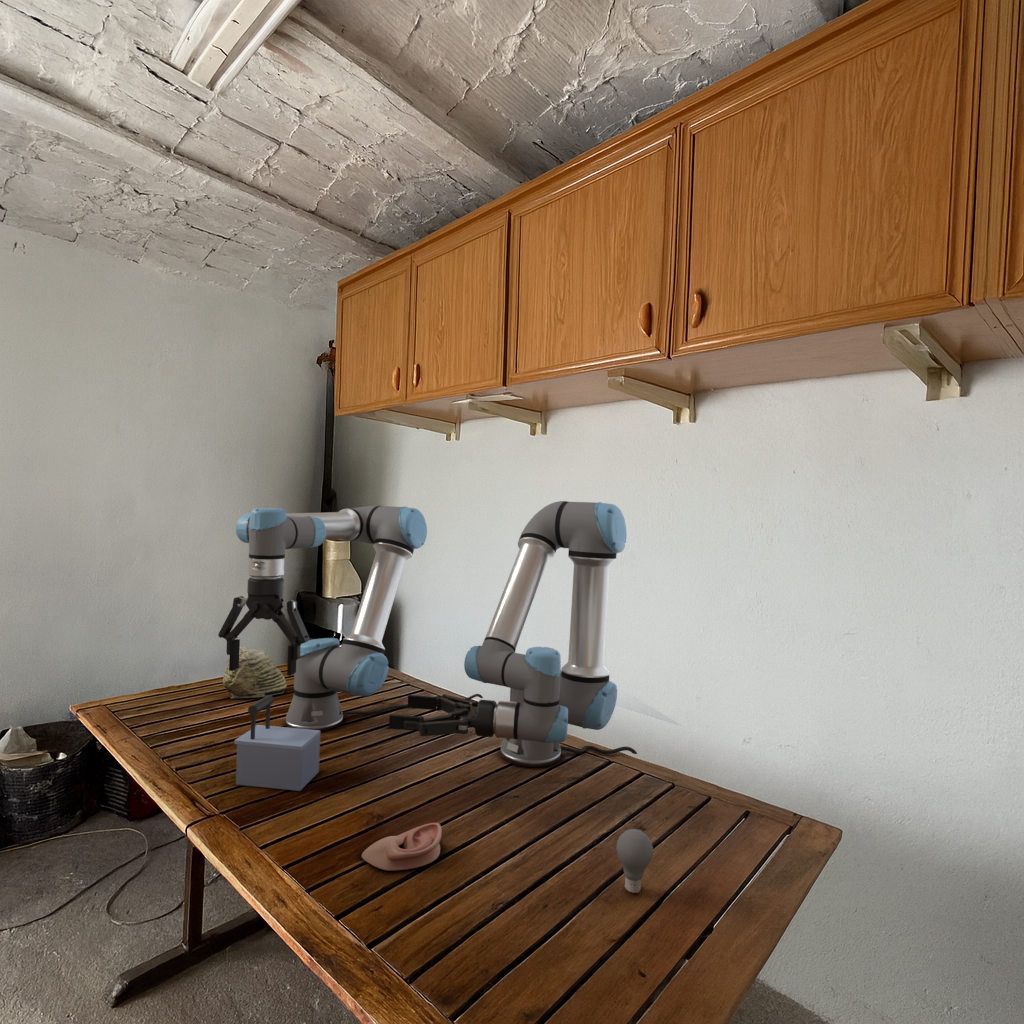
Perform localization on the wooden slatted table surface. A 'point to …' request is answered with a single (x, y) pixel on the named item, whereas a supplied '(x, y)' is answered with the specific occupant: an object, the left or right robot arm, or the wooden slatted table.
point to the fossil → (254, 675)
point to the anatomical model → (406, 849)
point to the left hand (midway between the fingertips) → (262, 671)
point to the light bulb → (634, 857)
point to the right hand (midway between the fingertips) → (399, 710)
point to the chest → (277, 766)
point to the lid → (274, 731)
